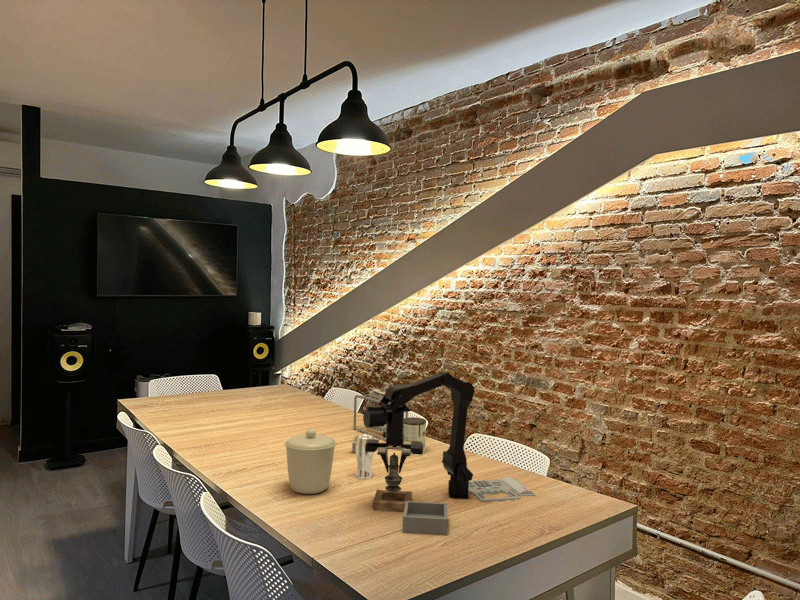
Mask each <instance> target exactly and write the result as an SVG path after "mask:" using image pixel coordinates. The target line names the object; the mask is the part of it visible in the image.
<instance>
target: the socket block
mask: <svg viewBox="0 0 800 600" xmlns="http://www.w3.org/2000/svg"><path fill="white" fill-rule="evenodd" d="M405 501H413V491H408V490H400V491H388V490H386V489H376V491H375V495H374V498H373V500H372V511H376V510H381V511H380V512H394V511H396V512H397V513H398V512H399V513H400V512H401V513H404V507H405Z"/></svg>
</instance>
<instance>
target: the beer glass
mask: <svg viewBox="0 0 800 600" xmlns="http://www.w3.org/2000/svg"><path fill="white" fill-rule="evenodd" d="M369 439H374V440H375V437H374V436H372V435H367V434H358V435H357V437H356V452H355V457H356V463H357V464H356V465H357V467H356V473H355V477H356V478H357V479H361V480H366V479H371V478H373V472H372V464H373V460H374V459H373V458H374V453H375V452H366V451H365V444H366V442H367V440H369Z"/></svg>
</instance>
